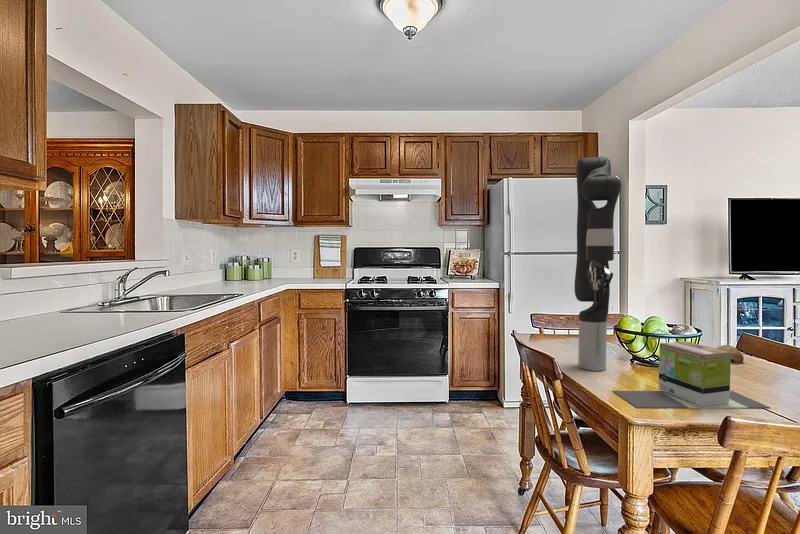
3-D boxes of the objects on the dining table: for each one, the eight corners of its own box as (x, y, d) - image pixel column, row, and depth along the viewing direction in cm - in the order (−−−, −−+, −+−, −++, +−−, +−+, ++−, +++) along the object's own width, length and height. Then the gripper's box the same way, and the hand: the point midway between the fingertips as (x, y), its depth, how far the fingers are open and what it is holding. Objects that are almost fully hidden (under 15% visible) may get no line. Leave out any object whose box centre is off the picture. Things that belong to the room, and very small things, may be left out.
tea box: (656, 390, 136) (658, 341, 135) (683, 387, 139) (684, 340, 138) (702, 407, 122) (704, 353, 121) (731, 404, 124) (732, 350, 124)
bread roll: (714, 371, 172) (718, 354, 168) (705, 354, 181) (709, 338, 177) (744, 373, 169) (749, 356, 166) (734, 356, 178) (739, 339, 174)
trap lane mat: (612, 391, 136) (612, 390, 136) (732, 391, 136) (732, 391, 136) (636, 408, 122) (636, 407, 122) (770, 408, 122) (770, 407, 122)
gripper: (623, 244, 127) (622, 305, 127) (602, 244, 140) (601, 300, 140) (596, 244, 127) (595, 305, 127) (578, 244, 140) (577, 300, 141)
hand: (598, 302), depth 134 cm, fingers closed
